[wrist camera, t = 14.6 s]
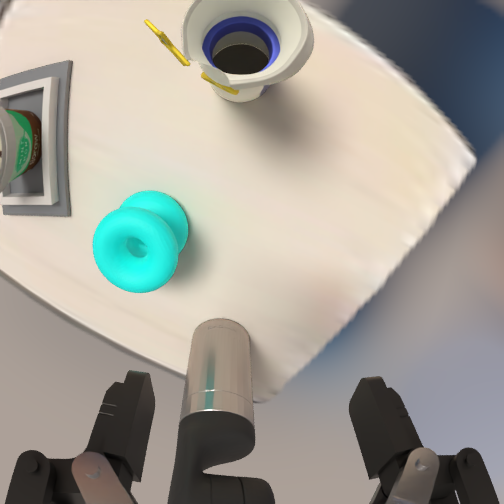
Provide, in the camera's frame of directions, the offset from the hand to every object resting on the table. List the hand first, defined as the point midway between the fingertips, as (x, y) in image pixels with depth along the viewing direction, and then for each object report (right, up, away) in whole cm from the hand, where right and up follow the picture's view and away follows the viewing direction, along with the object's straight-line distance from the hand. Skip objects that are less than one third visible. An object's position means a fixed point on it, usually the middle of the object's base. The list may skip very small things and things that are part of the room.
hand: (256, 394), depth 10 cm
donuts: (-13, +9, +29) cm, 33 cm away
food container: (-30, +21, +21) cm, 42 cm away
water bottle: (-1, +26, +21) cm, 34 cm away
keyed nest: (-32, +21, +22) cm, 44 cm away
